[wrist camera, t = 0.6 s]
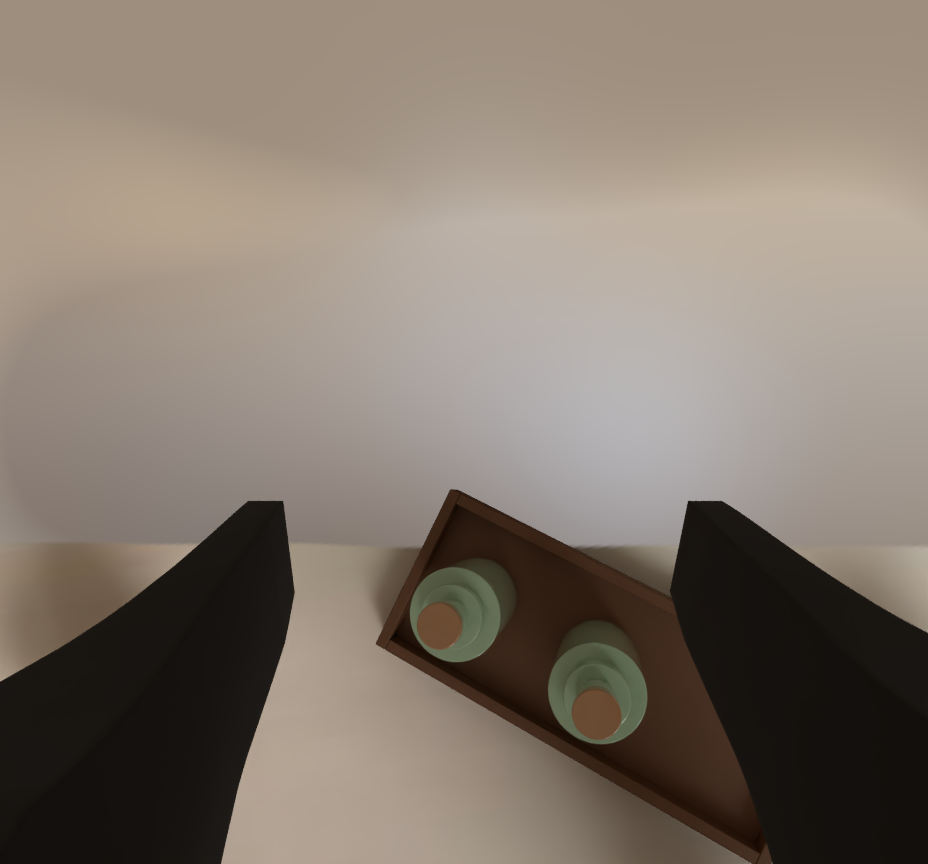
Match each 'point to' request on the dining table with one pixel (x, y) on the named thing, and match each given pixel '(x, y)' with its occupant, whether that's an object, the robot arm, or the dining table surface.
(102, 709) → the robot arm
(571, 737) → the tray
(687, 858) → the dining table surface
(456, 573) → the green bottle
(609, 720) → the green bottle mid
